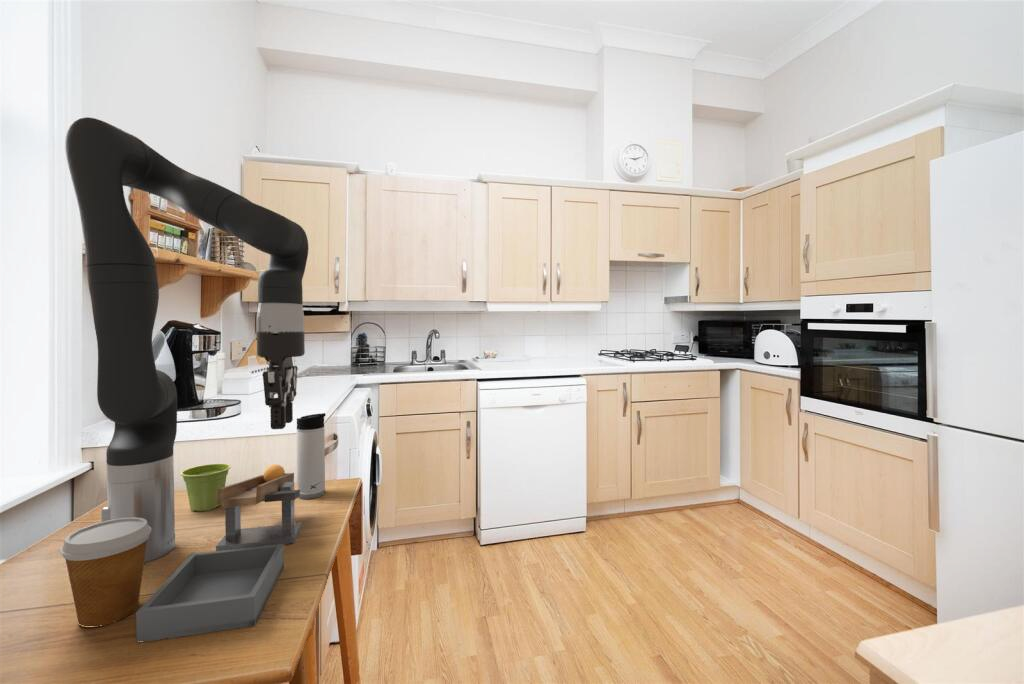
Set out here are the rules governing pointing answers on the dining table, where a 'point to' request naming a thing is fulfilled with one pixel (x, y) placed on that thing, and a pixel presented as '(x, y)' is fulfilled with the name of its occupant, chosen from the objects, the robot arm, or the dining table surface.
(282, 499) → the lever
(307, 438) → the travel mug
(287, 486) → the stand
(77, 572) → the disposable coffee cup
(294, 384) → the robot arm
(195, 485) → the plant pot
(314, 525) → the dining table surface
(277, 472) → the ball
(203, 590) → the bin
